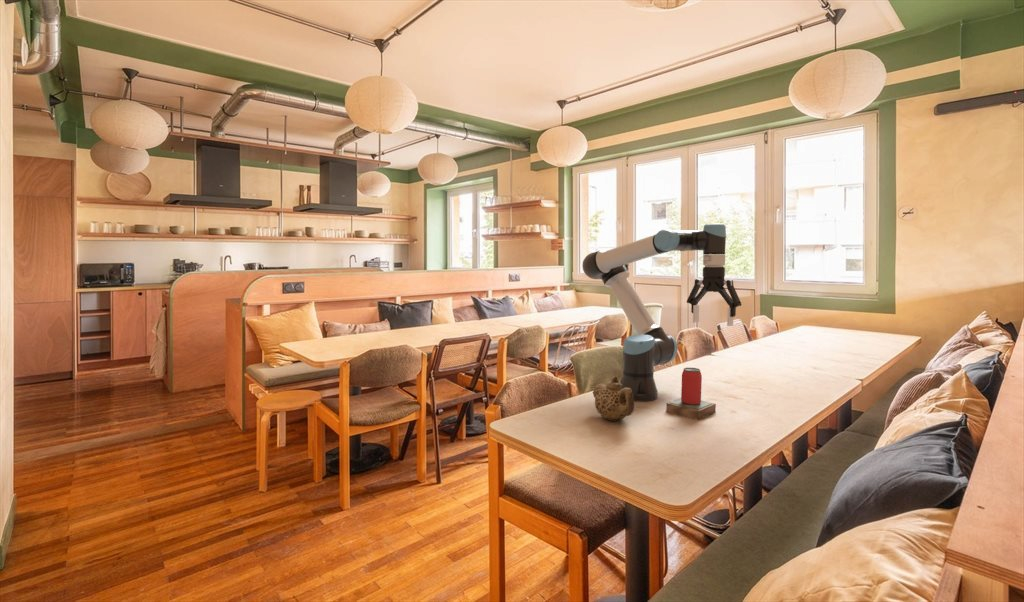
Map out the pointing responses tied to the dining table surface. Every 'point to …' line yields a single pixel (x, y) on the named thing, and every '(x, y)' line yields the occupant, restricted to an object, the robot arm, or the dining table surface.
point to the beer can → (691, 386)
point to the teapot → (613, 400)
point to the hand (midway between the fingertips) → (712, 324)
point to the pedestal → (691, 409)
